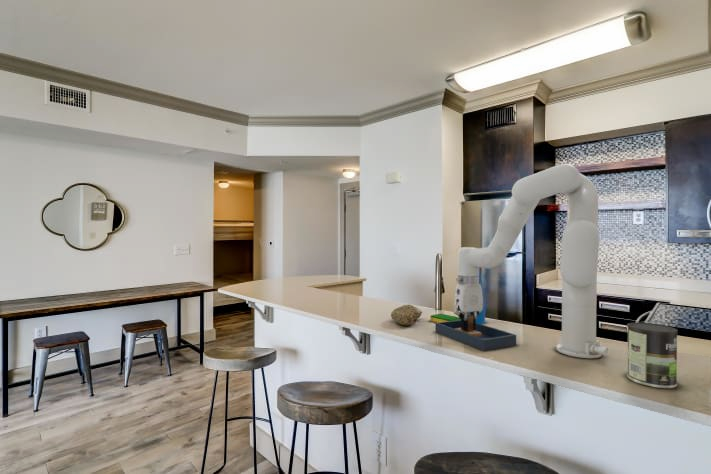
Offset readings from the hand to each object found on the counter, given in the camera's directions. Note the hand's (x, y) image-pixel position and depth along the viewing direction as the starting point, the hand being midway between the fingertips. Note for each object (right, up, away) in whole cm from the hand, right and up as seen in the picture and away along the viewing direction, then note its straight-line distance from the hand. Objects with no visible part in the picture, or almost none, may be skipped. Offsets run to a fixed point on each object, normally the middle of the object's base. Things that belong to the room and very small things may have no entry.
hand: (468, 329), depth 139 cm
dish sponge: (-2, -3, +21) cm, 22 cm away
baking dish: (+1, -3, -2) cm, 4 cm away
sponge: (-20, -3, +22) cm, 30 cm away
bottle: (+10, -3, +23) cm, 25 cm away
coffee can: (+35, -3, -42) cm, 55 cm away
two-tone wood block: (0, -2, 0) cm, 2 cm away
